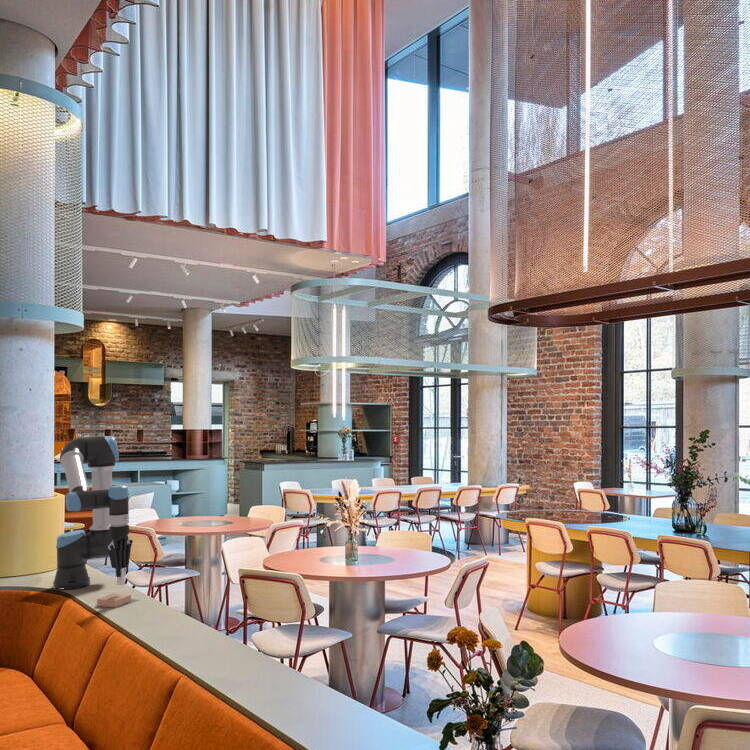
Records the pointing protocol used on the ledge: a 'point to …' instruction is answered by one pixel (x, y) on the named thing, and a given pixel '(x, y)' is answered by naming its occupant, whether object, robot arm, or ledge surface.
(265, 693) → the ledge surface
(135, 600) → the mat
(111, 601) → the block
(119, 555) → the robot arm
